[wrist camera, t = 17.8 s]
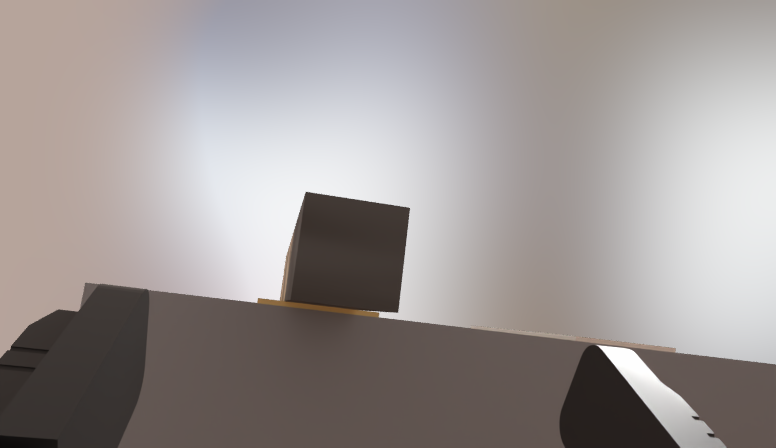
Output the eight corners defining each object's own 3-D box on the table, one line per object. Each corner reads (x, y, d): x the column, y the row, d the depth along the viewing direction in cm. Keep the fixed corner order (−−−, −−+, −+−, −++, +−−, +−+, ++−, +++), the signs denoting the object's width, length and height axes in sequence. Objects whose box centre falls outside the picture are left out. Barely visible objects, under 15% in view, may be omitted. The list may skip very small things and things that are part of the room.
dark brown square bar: (398, 312, 16) (410, 208, 17) (290, 299, 16) (305, 191, 16) (326, 308, 38) (332, 262, 38) (279, 302, 37) (286, 256, 38)
